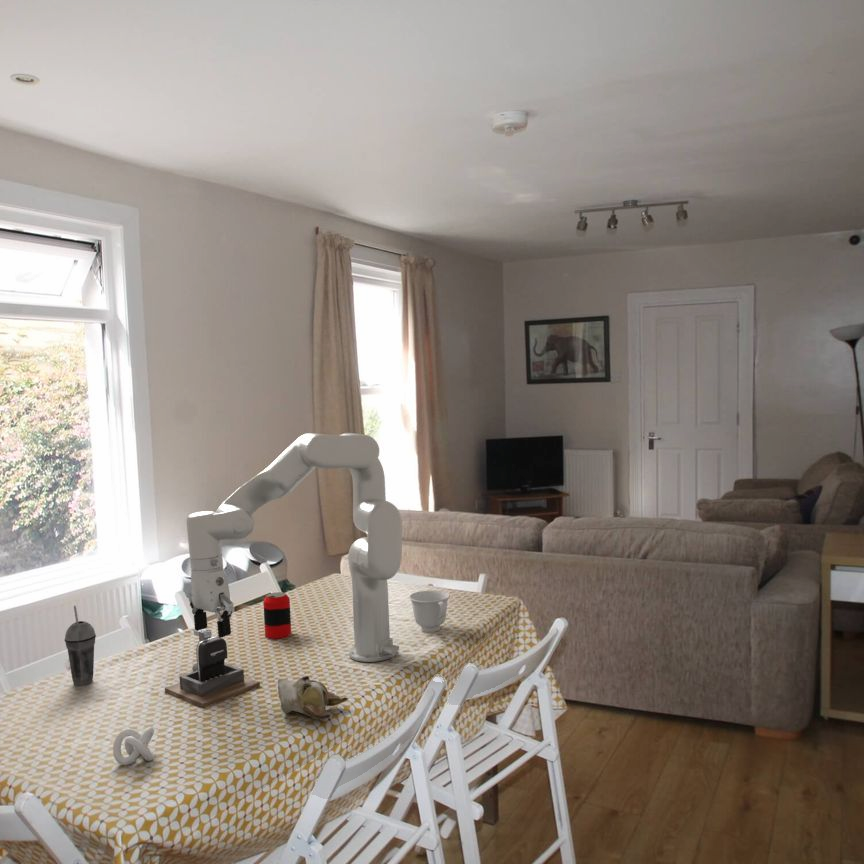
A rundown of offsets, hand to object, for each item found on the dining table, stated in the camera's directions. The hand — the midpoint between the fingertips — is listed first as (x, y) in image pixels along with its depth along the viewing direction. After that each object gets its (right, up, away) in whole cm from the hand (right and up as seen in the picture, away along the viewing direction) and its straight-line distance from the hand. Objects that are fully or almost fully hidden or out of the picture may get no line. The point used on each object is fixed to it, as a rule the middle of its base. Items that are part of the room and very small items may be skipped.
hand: (212, 632), depth 192 cm
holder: (0, -14, 0) cm, 14 cm away
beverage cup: (-35, -15, +8) cm, 39 cm away
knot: (-5, -17, -35) cm, 39 cm away
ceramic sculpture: (+26, -14, -16) cm, 33 cm away
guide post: (-6, -13, +14) cm, 20 cm away
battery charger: (0, -13, 0) cm, 13 cm away
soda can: (+8, -11, +41) cm, 43 cm away
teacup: (+53, -10, +40) cm, 67 cm away
